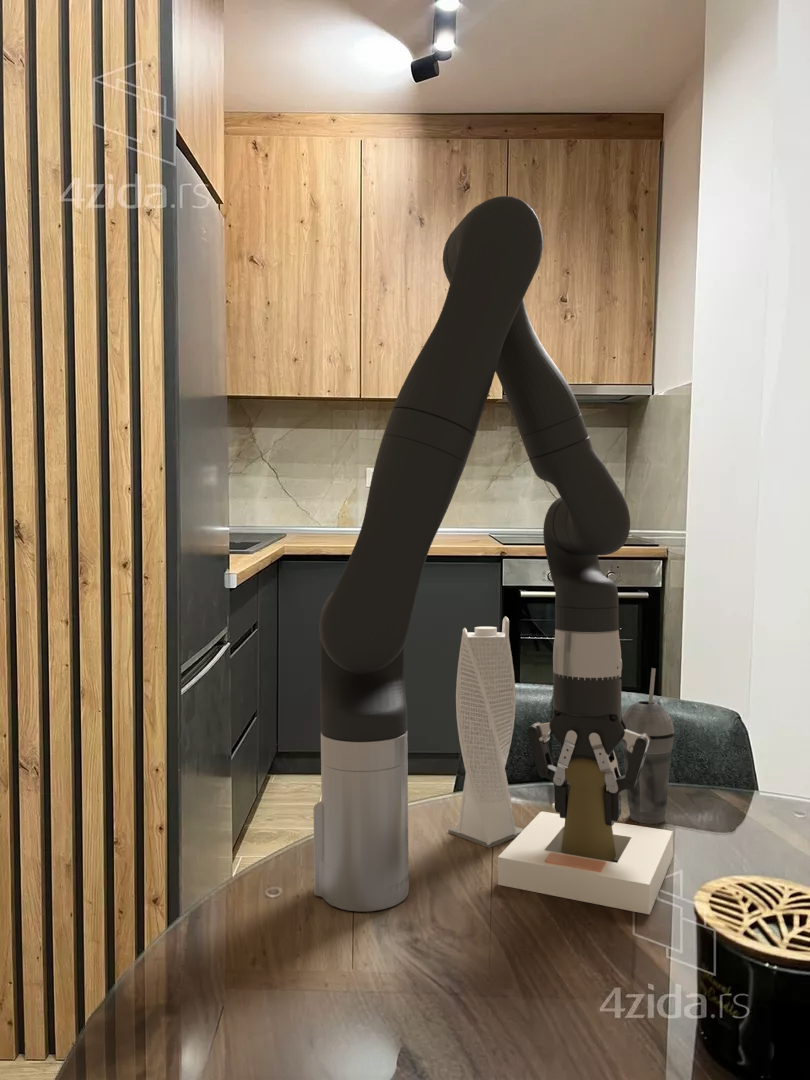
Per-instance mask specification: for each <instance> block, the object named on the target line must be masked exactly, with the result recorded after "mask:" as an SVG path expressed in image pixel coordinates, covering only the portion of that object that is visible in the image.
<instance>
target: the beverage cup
mask: <svg viewBox="0 0 810 1080" xmlns="http://www.w3.org/2000/svg"><path fill="white" fill-rule="evenodd" d="M656 671H657V669H656V668H653V667H651V672H650V684H649V694H648V701H647V700H641V701H637V702H634V703H633V704H630V706H629V707H628V708H626V709H625V711H624V712H623V714H622V720H623V722H624V724H625V726H626V729H627V730H630V731H633V732H635V733H638V734H642V733H646V734H648V735H649V736H650V743H649V746H648V750H647V753H646V757H645V760H644V763H643V767H642V770H641V774H640V777H639V781H638V782H637V784H635V787H634V788H633V789H631V790H628V789H626V795H627V803H628V804H627V805H628V811H629V818H630V819H631V820H632V821H635V822H637V823H641V824H648V825H649V824H650V825H655V824H656V825H657V824H661V823H664V822H665V820H666V812H667V811H666V810H667V805H668V795H669V792H668V790H669V784H670V783H669V780H670V768H671V757H672V756H671V755H672V750H673V746H674V741H675V735H676V732H675V729H674V723H673V720H672V718H671V716H670V714H669V713H668V712H667V711H666V709H665V708H664V707H663V706H662V705H660V704H658V703H656V702H654V692H655V691H654V690H655V681H656V678H655V677H656ZM620 743H621V747H622V752H623V762H624V773H625V774H624V775H626V772H627V769H628V765H629V762H630V758H631V755H632V753H631V752H629V751H628V749H627V742H626V741H625V740H624V739H622V740H621V741H620Z"/></svg>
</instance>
